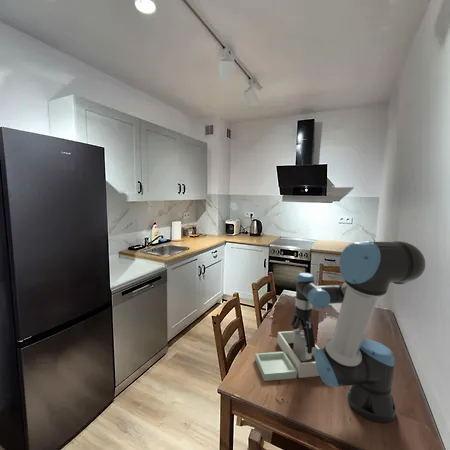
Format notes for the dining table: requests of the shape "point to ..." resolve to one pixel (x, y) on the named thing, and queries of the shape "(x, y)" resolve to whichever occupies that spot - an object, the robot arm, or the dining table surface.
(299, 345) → the can
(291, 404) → the dining table surface
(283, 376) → the tray
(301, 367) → the white rectangular frame
